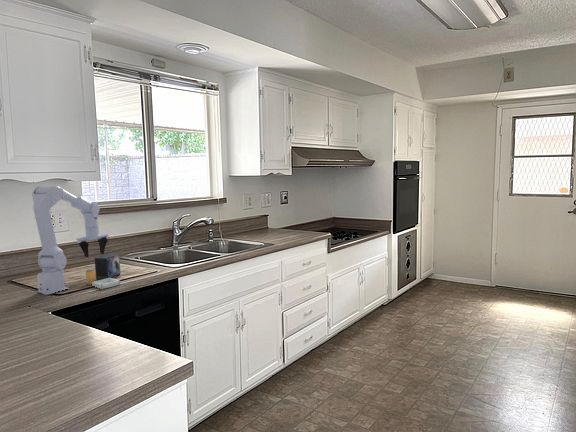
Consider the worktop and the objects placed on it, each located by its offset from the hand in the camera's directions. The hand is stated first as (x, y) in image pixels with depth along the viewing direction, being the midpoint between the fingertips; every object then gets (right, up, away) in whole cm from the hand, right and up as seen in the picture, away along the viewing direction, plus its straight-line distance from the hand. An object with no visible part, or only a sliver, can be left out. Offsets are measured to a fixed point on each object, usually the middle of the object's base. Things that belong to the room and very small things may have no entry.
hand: (94, 255), depth 207 cm
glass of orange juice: (+5, -11, -14) cm, 19 cm away
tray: (+13, -12, -18) cm, 25 cm away
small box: (+9, -10, -4) cm, 14 cm away
